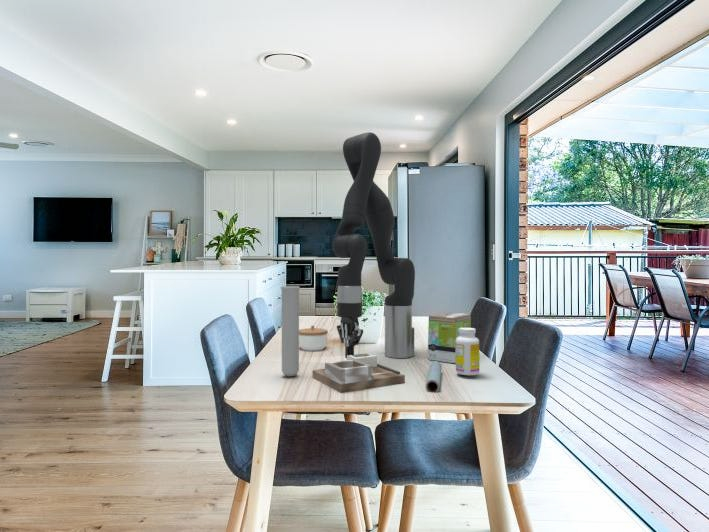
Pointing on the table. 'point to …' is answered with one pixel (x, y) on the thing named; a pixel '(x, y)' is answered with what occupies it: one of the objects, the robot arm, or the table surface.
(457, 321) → the tea box
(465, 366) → the supplement bottle
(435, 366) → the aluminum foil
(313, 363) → the table surface
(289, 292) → the tube
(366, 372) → the desk organizer tray
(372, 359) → the white hollow block
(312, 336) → the lidded jar
